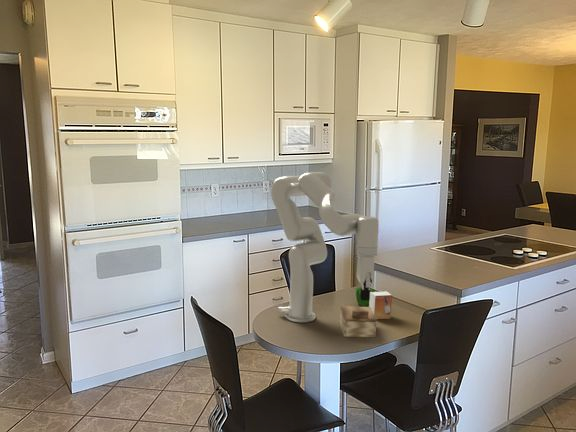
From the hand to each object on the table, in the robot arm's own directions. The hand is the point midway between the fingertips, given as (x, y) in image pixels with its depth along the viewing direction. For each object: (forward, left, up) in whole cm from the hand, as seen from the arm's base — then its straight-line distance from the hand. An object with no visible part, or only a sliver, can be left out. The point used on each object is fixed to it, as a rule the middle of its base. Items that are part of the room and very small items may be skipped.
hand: (364, 299), depth 177 cm
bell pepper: (+8, +41, -16) cm, 45 cm away
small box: (+11, +26, -16) cm, 33 cm away
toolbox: (0, +11, -16) cm, 20 cm away
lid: (0, +11, -10) cm, 15 cm away
